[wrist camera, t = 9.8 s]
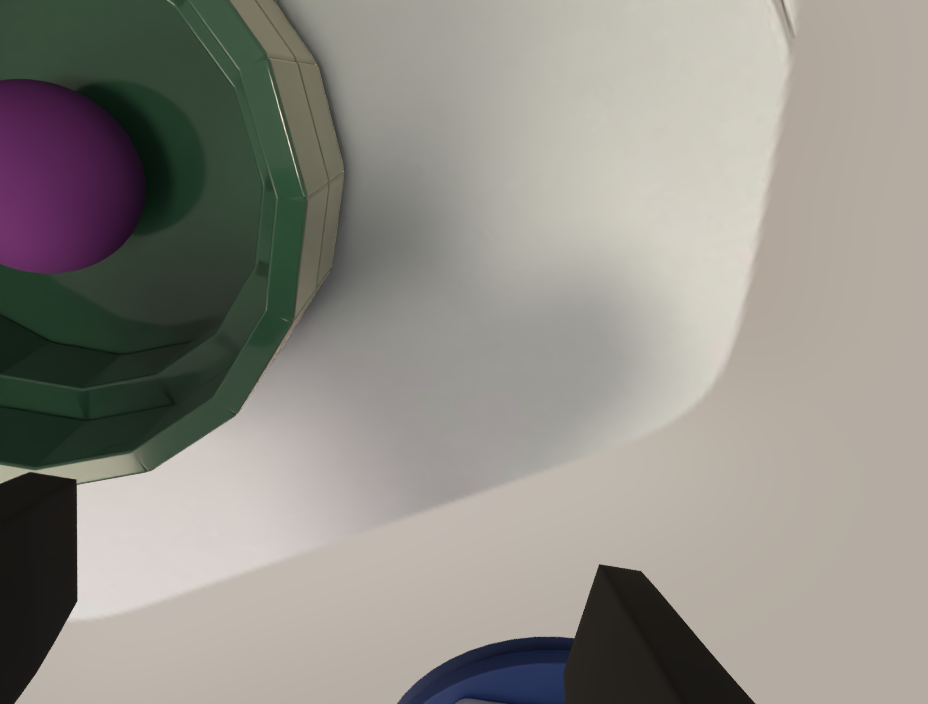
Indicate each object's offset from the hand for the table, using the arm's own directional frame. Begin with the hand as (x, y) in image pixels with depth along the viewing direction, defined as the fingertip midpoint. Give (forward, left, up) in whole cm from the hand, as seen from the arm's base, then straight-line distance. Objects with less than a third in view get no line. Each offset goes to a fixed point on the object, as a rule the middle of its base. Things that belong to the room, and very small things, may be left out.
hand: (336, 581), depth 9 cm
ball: (+3, +8, -7) cm, 11 cm away
